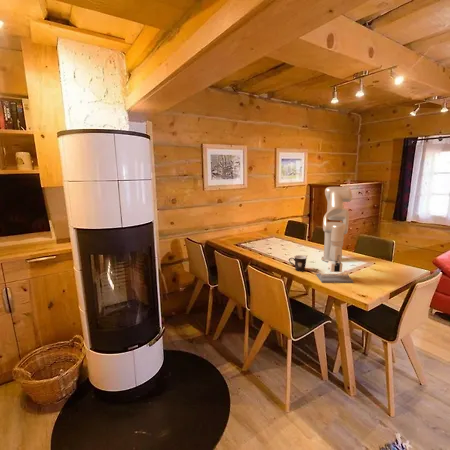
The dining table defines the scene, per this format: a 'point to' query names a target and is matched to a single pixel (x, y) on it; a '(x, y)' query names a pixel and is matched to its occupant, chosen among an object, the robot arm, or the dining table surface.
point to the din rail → (334, 275)
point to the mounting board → (335, 280)
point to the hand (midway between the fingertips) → (335, 269)
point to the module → (331, 266)
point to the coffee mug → (299, 262)
